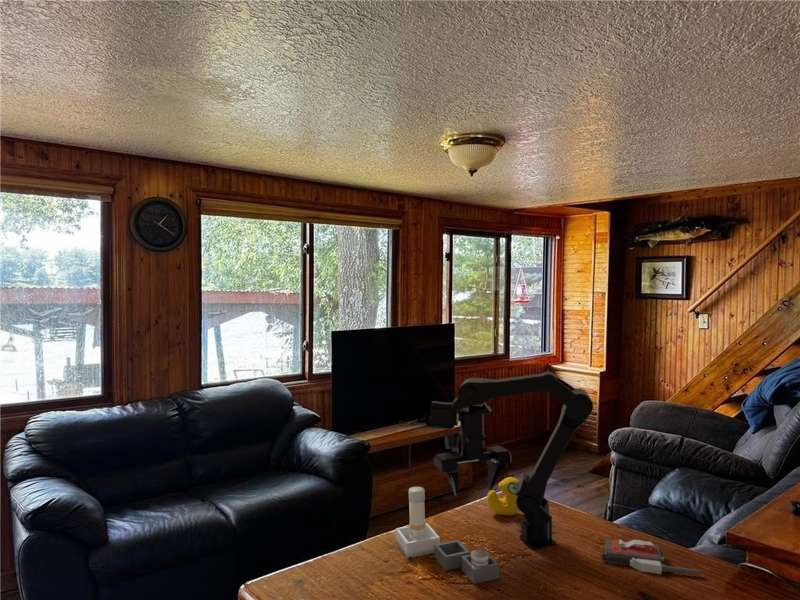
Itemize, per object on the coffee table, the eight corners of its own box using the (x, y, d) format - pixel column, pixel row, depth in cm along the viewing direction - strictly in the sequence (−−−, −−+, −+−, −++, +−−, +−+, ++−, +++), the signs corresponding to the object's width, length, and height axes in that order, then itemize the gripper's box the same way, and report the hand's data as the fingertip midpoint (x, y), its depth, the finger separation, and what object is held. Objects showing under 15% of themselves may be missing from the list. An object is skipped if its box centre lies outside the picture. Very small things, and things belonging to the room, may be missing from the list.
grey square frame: (458, 552, 129) (458, 539, 129) (470, 565, 124) (470, 552, 124) (434, 557, 127) (434, 544, 127) (445, 570, 122) (444, 557, 122)
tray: (427, 536, 138) (426, 522, 138) (440, 551, 130) (439, 537, 130) (396, 542, 135) (395, 528, 135) (407, 558, 127) (406, 543, 127)
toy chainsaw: (601, 568, 122) (703, 581, 116) (601, 549, 121) (703, 561, 115) (599, 549, 130) (694, 560, 124) (599, 531, 130) (694, 541, 124)
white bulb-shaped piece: (425, 538, 134) (424, 486, 134) (425, 546, 131) (424, 492, 130) (409, 539, 134) (408, 486, 134) (409, 547, 131) (408, 493, 130)
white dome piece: (483, 568, 122) (483, 548, 122) (492, 576, 119) (491, 556, 119) (468, 571, 121) (468, 551, 121) (476, 580, 118) (475, 559, 117)
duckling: (527, 509, 152) (527, 473, 151) (531, 518, 146) (531, 481, 146) (486, 510, 152) (485, 474, 152) (488, 518, 147) (488, 481, 146)
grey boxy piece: (486, 564, 124) (485, 551, 124) (499, 578, 118) (499, 564, 118) (461, 569, 122) (461, 556, 122) (473, 583, 116) (473, 570, 116)
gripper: (490, 418, 147) (491, 476, 147) (424, 426, 141) (426, 486, 141) (512, 429, 136) (512, 491, 137) (442, 438, 130) (443, 503, 131)
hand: (473, 492), depth 137 cm, fingers open, 9 cm apart
